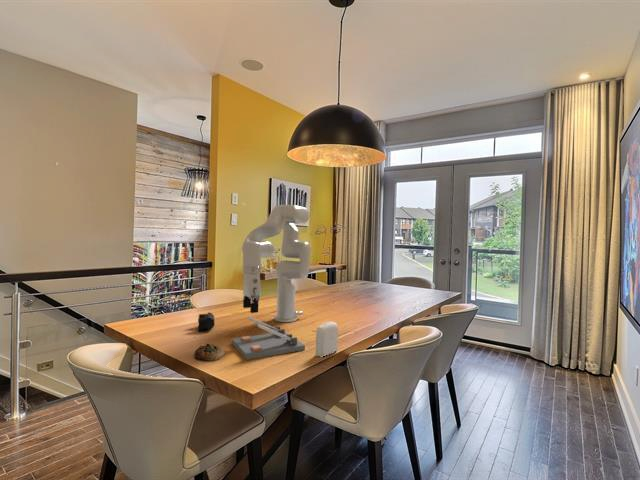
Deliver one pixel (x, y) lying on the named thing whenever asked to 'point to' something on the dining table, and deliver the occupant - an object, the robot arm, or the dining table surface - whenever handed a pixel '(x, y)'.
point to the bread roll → (209, 353)
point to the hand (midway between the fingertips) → (250, 310)
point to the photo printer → (326, 338)
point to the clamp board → (266, 345)
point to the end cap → (205, 322)
